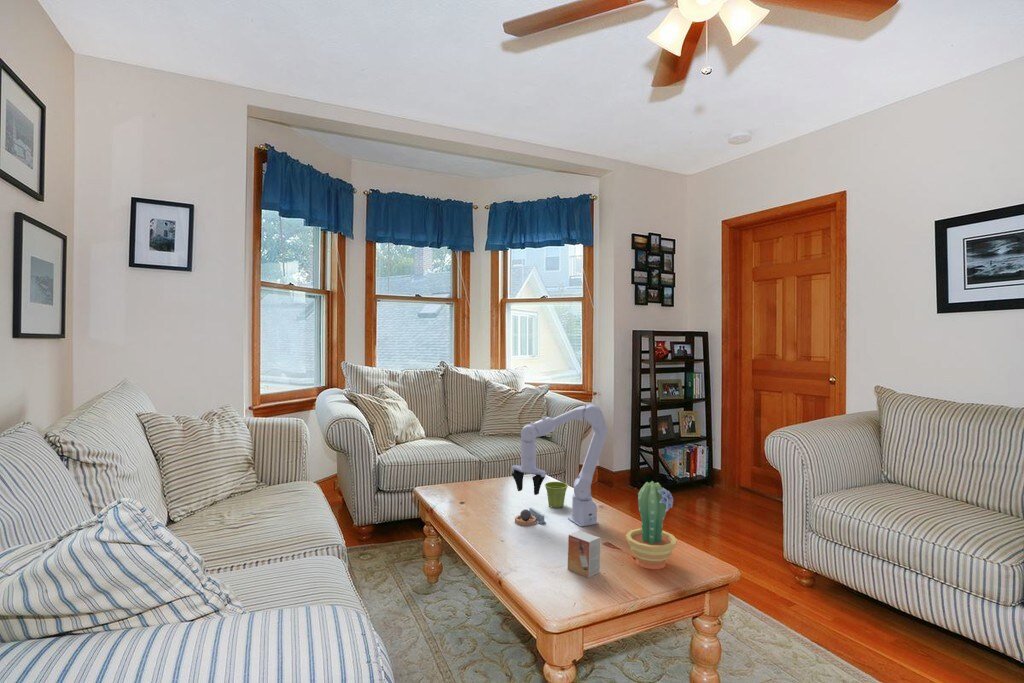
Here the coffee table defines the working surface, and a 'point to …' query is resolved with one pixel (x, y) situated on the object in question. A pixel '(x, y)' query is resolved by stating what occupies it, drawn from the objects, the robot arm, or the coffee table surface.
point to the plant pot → (556, 493)
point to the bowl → (525, 523)
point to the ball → (525, 515)
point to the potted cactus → (652, 528)
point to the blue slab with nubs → (537, 516)
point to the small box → (584, 553)
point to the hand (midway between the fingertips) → (528, 492)
